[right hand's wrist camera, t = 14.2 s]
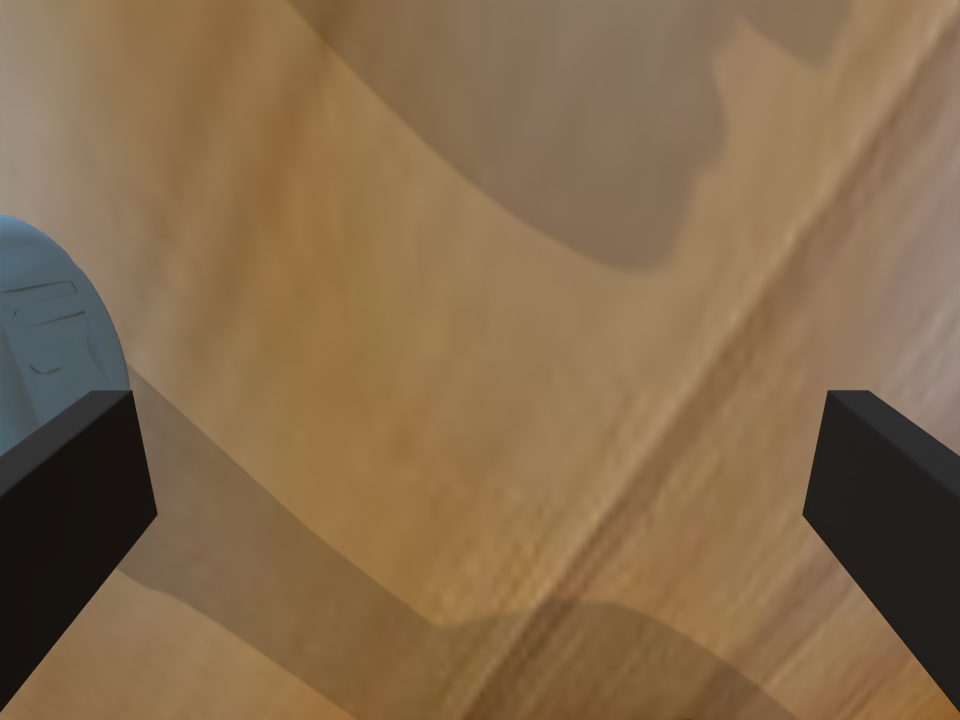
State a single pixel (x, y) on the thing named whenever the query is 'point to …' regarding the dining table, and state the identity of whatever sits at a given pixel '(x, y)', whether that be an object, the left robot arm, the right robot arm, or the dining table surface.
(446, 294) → the dining table surface
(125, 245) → the dining table surface
